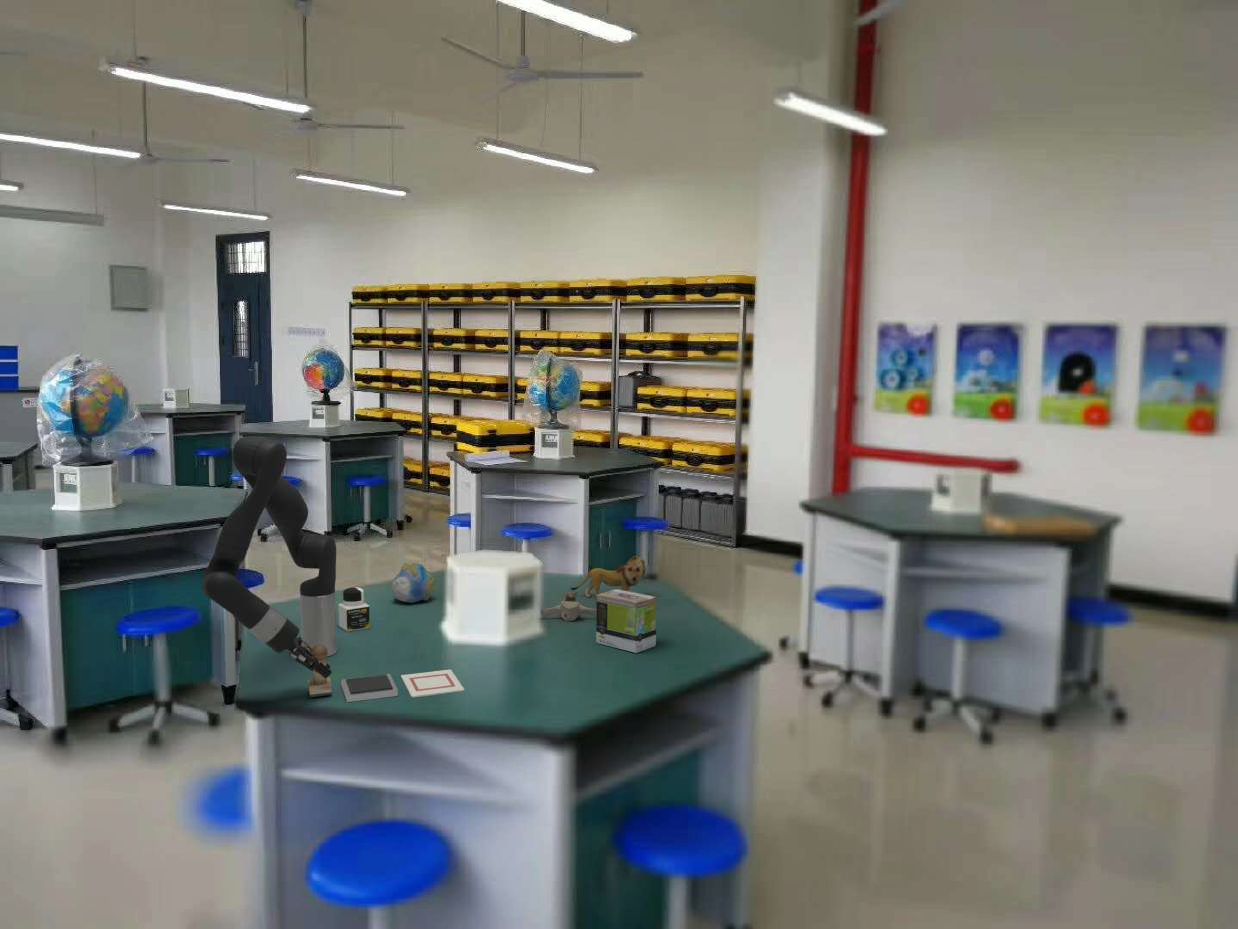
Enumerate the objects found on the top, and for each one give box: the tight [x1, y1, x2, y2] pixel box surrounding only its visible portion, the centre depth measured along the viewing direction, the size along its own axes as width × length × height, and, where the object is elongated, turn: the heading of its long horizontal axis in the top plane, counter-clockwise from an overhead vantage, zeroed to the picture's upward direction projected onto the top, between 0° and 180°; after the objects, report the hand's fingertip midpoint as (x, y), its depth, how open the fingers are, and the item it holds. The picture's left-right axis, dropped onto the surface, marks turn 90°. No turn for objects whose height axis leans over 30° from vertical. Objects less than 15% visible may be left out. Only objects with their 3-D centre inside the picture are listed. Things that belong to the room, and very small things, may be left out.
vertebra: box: [540, 590, 596, 622], centre depth 304 cm, size 20×11×10 cm, turn 92°
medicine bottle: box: [338, 586, 371, 633], centre depth 291 cm, size 7×7×12 cm
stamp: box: [307, 645, 333, 698], centre depth 235 cm, size 5×5×12 cm
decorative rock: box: [391, 562, 436, 604], centre depth 322 cm, size 13×15×14 cm
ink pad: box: [341, 673, 399, 703], centre depth 238 cm, size 12×12×2 cm
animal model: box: [569, 555, 647, 598], centre depth 328 cm, size 9×26×15 cm, turn 78°
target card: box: [400, 669, 465, 699], centre depth 244 cm, size 16×13×1 cm
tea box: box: [595, 588, 657, 654], centre depth 277 cm, size 15×10×15 cm, turn 51°
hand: (328, 672), depth 236 cm, fingers closed on stamp, 3 cm apart
